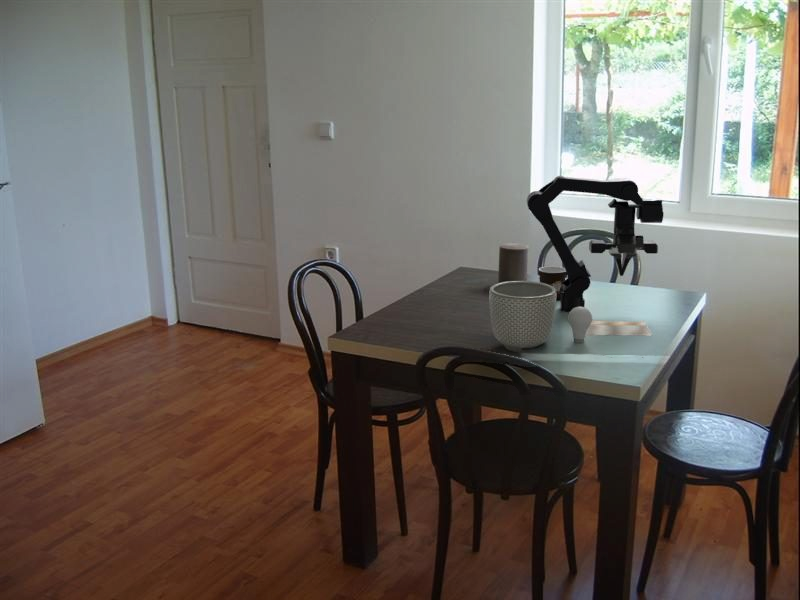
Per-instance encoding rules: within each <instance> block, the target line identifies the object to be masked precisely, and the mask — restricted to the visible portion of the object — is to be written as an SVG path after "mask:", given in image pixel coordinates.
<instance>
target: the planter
mask: <svg viewBox="0 0 800 600" xmlns="http://www.w3.org/2000/svg"><path fill="white" fill-rule="evenodd" d="M488 293H489V295H488V296H489V297H488V298H489V315H490V324H491V329H492V334H493V336H494V337H495V339H497V341H498V342H499V343H501V344H502V345H503V346H504V348H505V349H506V350H507V351H510V352H513V353H524V351H523V349H533V348H536V347H539V346H540V345H542V344H544V343H545V342H546V341H548V340H549V338H550V337H551V335H552V331H553V327H554V326H553V325H554V320H555V315H556V314H555V313H556V306H557V305H556V304H557V301H556V297H557V293H556V289H555V288H554V287H553V286H551V285H548V284H545V283H540V281H532V280H531V281H529V280H527V281H508V282H502V283H495V284H493V285H491V286H490V288H489V292H488Z"/></svg>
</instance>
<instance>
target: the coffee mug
mask: <svg viewBox="0 0 800 600" xmlns="http://www.w3.org/2000/svg"><path fill="white" fill-rule="evenodd" d="M538 277H539V282H540V283H545V284H548V285H551V286H553V287H554V288H555V289H556V293H557V297H556V302H560V296H561V293H563V290H562V287H561V283H563V282H564V281H565V280H566V277H568V276H567V273H566V270H565V267H563V266H543V267H541V266H540V267H539V268H538Z"/></svg>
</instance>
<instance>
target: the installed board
mask: <svg viewBox="0 0 800 600" xmlns="http://www.w3.org/2000/svg"><path fill="white" fill-rule="evenodd" d="M585 336H631V337H632V336H636V337H643V336H644V337H651V336H653V334H652V333H651V331H650V329H649V328H648V326H647V325H590V326H589V327H588V329H587V331H586V335H585Z"/></svg>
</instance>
